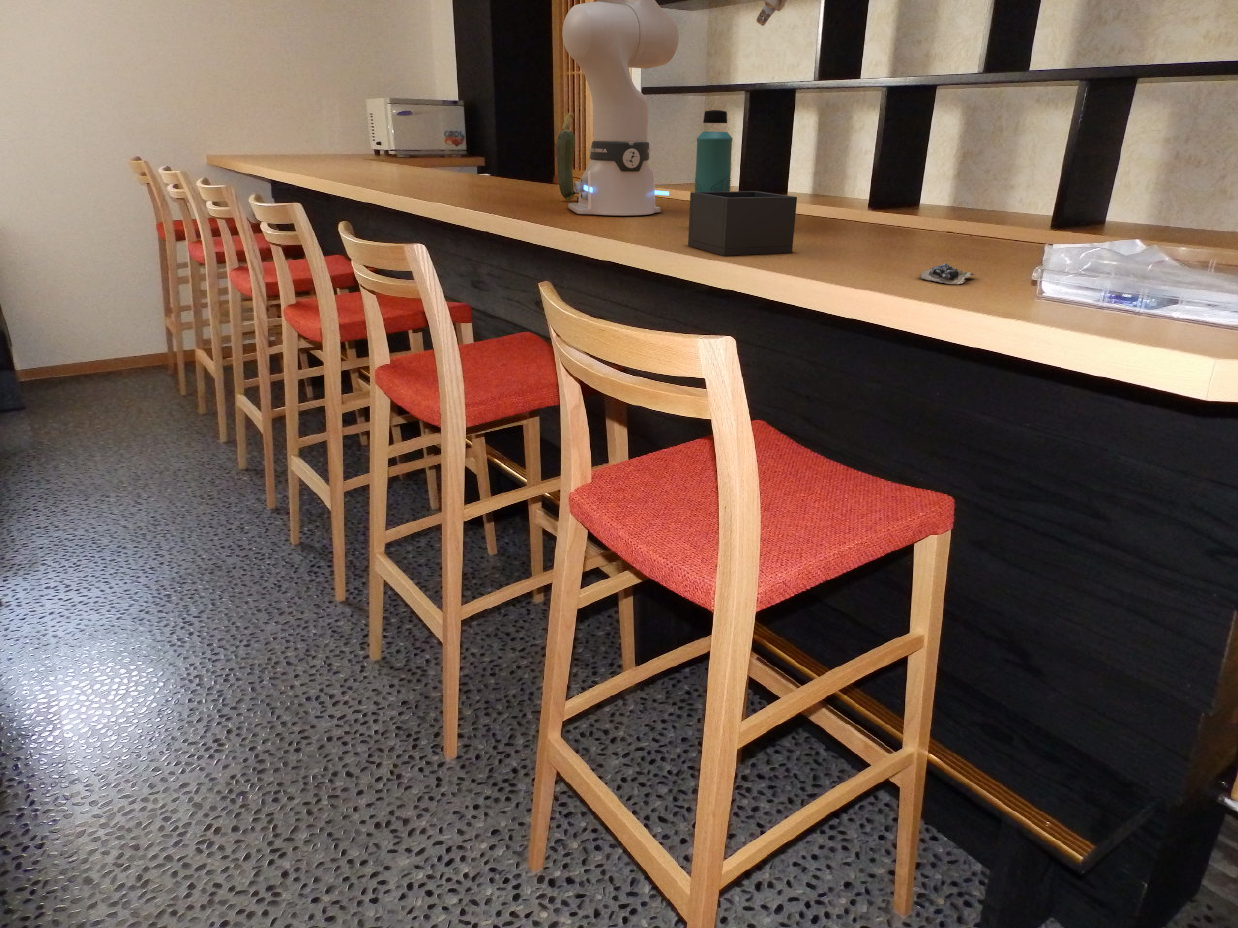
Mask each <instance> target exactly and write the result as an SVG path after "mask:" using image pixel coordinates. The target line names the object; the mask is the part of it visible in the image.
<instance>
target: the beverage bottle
mask: <svg viewBox="0 0 1238 928" xmlns="http://www.w3.org/2000/svg"><path fill="white" fill-rule="evenodd" d="M702 121H703V122H702V123H703V124H728V113H727V111H726V110H721V109H709V110H705V111H704V115H703V119H702ZM732 146H733V137H732V135H731V134H730V133H729V132H728V131H707V130H705V131H702V132H700V134H699V135H698V136H697V137H696V157H695V158H696V159H695V173H694V176H695V177H694V192H731V190H732V186H731V182H732V179H731V175H732V174H731V173H732V169H733V168H732V165H733V164H732V149H733V147H732Z"/></svg>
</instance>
